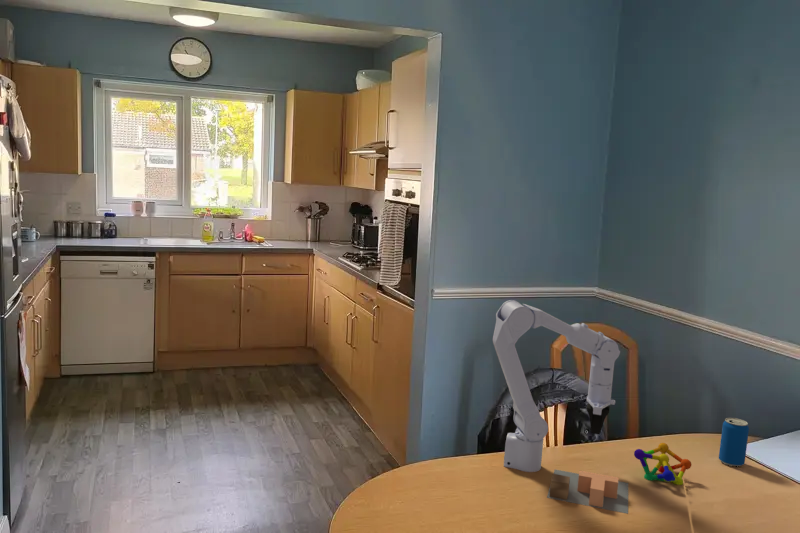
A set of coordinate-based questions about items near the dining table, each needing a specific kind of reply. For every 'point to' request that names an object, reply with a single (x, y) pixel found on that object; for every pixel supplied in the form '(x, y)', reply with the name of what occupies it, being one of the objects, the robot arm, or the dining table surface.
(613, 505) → the board
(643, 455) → the decorative model
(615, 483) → the t block
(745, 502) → the dining table surface
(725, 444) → the beverage can
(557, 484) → the walnut cube
